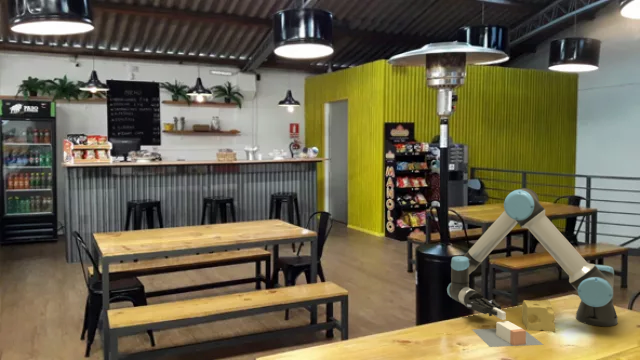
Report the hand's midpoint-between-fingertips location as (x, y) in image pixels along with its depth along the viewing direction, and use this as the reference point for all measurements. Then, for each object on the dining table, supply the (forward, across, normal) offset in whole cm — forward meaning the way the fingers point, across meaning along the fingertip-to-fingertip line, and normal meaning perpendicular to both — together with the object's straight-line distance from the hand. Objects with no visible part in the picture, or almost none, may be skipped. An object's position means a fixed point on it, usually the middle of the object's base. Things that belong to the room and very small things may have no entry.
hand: (503, 316), depth 201 cm
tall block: (-1, 0, -5) cm, 5 cm away
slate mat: (+2, 0, -8) cm, 8 cm away
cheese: (-5, -18, -8) cm, 21 cm away
